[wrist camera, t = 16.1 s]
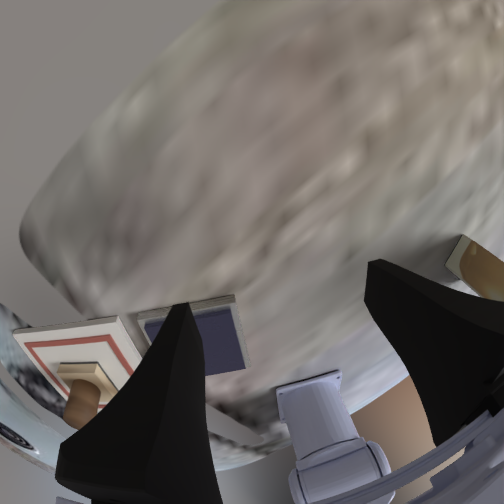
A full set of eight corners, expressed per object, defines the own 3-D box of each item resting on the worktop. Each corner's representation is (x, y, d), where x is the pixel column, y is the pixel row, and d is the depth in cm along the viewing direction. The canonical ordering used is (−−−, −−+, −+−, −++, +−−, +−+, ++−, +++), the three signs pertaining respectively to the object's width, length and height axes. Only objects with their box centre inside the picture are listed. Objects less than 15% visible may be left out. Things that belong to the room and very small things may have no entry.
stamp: (119, 390, 24) (112, 437, 19) (83, 390, 23) (73, 433, 18) (97, 361, 22) (84, 412, 16) (60, 362, 21) (44, 408, 16)
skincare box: (478, 251, 25) (544, 305, 14) (461, 280, 27) (523, 339, 16) (461, 231, 23) (542, 291, 12) (442, 264, 24) (516, 332, 14)
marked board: (172, 403, 27) (172, 410, 26) (78, 406, 26) (76, 412, 25) (118, 315, 21) (115, 323, 20) (15, 329, 19) (11, 335, 19)
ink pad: (249, 358, 25) (251, 370, 24) (170, 372, 24) (169, 383, 23) (234, 294, 21) (236, 306, 20) (138, 312, 21) (136, 324, 19)
